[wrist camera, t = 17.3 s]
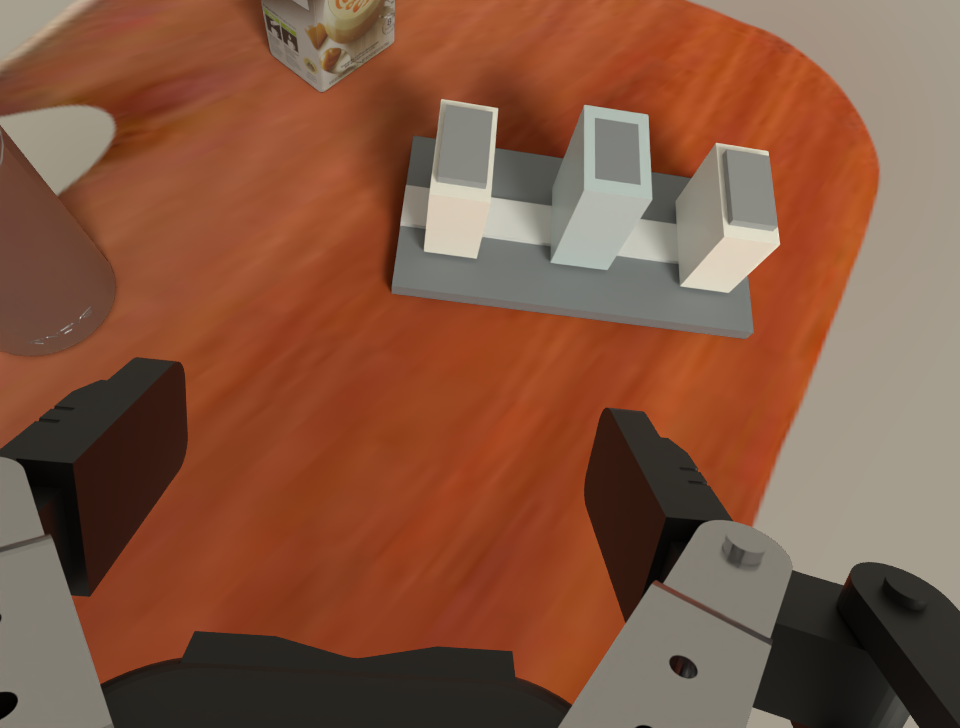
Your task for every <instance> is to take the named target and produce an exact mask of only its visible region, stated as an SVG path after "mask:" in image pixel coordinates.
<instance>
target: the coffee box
mask: <svg viewBox="0 0 960 728" xmlns="http://www.w3.org/2000/svg"><path fill="white" fill-rule="evenodd" d="M261 5H262V10H263V15H264V20H265V25H266V31H267V36H268V41H269V46H270V51H271V54H272V55H273V56H274V57H275V58H276V59H278V60H279V61H280V62H282V63H283V64H284V65H286V66H287V67H288V68H289V69H291V70H292V71H293V72H295V73H296V74H297V75H298V76H300V77H301V78H302V79H304V80H305V81H306V82H308V83H309V84H310V85H312V86H313V87H314V88H315V89H317V90H318V91H320V92H324V91H326V90H327V89H329V88H330V87H331V86H333V85H334V84H336V83H337V82H339V81H340V80H341V79H343V78H344V77H346V76H347V75H348V74H350V73H351V72H353V71H354V70H356V69H357V68H358V67H360V66H361V65H363V64H364V63H366V62H367V61H368V60H370V59H371V58H373V57H374V56H376V55H377V54H379V53H380V52H381V51H383V50H384V49H386V48H387V47H388V46H390V45H391V44H392V43H393V42H394V22H395V0H261Z"/></svg>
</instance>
